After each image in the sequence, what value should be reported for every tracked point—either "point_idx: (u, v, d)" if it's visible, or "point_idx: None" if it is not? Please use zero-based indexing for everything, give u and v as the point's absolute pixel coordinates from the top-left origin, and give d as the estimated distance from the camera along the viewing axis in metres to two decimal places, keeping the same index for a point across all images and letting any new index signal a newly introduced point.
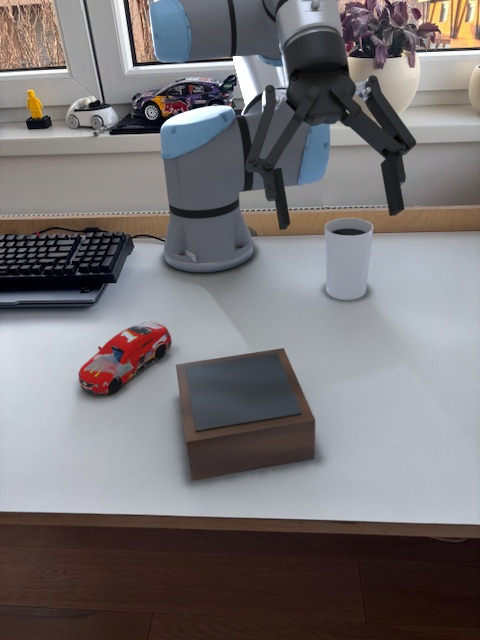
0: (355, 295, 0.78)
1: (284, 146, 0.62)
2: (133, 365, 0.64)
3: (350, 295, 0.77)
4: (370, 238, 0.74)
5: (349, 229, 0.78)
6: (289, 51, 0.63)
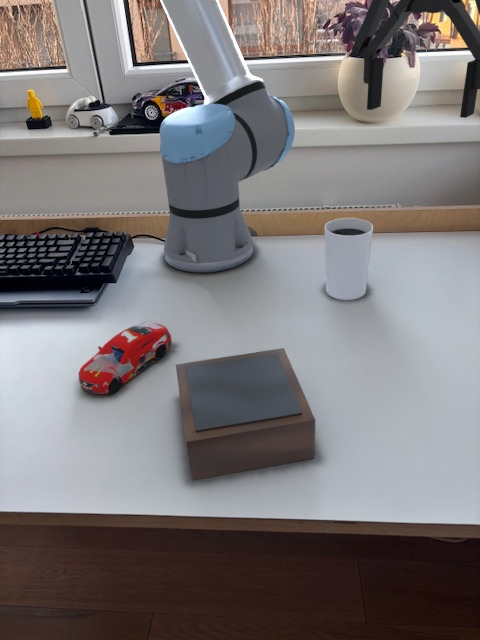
0: (355, 295, 0.78)
1: None
2: (134, 365, 0.64)
3: (350, 295, 0.77)
4: (370, 238, 0.74)
5: (349, 229, 0.78)
6: None
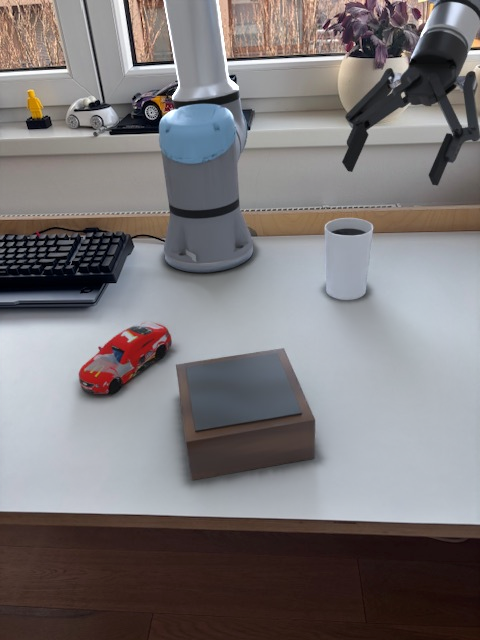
0: (355, 295, 0.78)
1: (450, 127, 0.78)
2: (134, 365, 0.64)
3: (350, 295, 0.77)
4: (370, 238, 0.74)
5: (349, 229, 0.78)
6: (464, 62, 0.80)
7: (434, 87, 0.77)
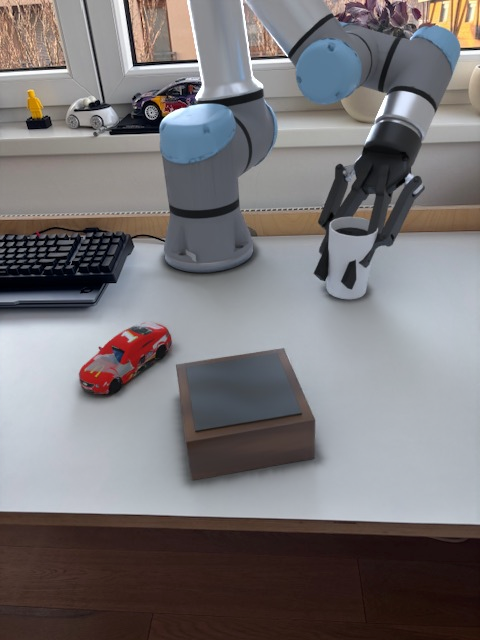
0: (355, 295, 0.77)
1: None
2: (134, 365, 0.64)
3: (350, 295, 0.77)
4: (374, 239, 0.74)
5: (353, 228, 0.77)
6: (418, 151, 0.77)
7: (386, 180, 0.75)
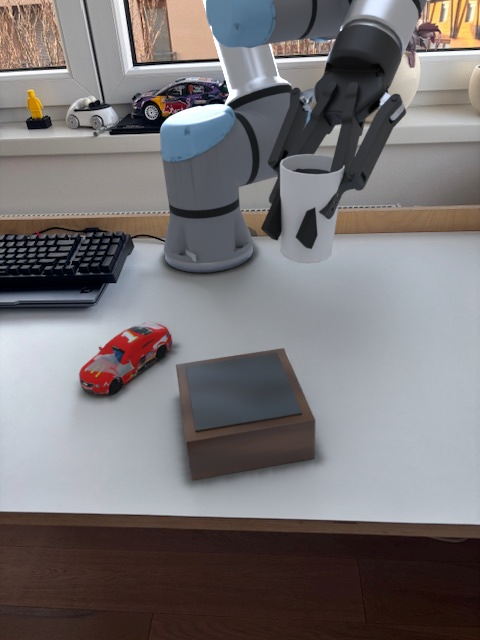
0: (317, 257, 0.59)
1: None
2: (134, 365, 0.64)
3: (311, 257, 0.59)
4: (340, 180, 0.55)
5: (313, 169, 0.59)
6: None
7: (354, 102, 0.56)
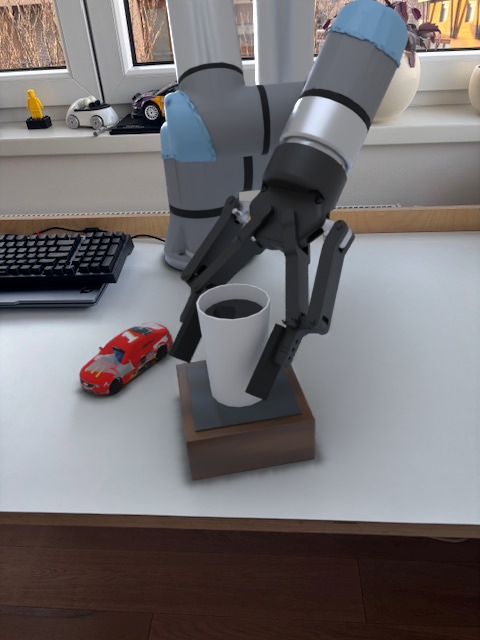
0: (248, 400, 0.51)
1: None
2: (134, 365, 0.64)
3: (240, 401, 0.51)
4: (264, 320, 0.48)
5: (240, 301, 0.52)
6: (343, 186, 0.51)
7: (289, 233, 0.49)
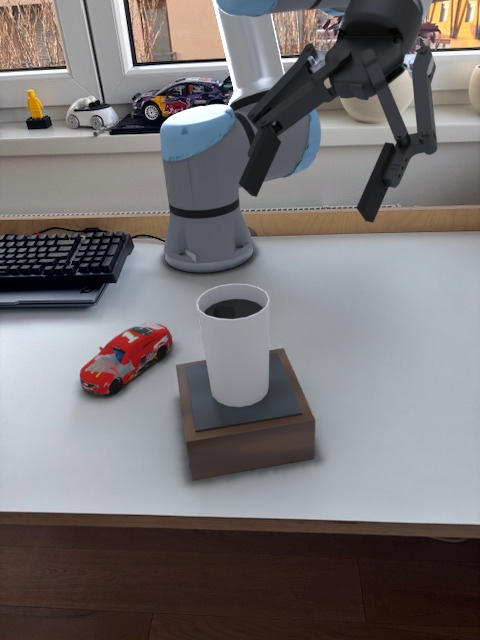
0: (248, 400, 0.51)
1: None
2: (135, 365, 0.64)
3: (240, 401, 0.51)
4: (264, 320, 0.48)
5: (239, 301, 0.52)
6: (418, 33, 0.53)
7: (370, 71, 0.51)
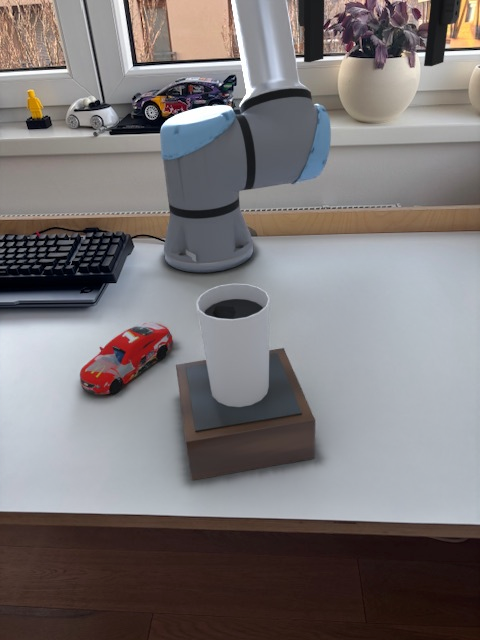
0: (248, 400, 0.51)
1: None
2: (135, 365, 0.64)
3: (240, 401, 0.51)
4: (264, 320, 0.48)
5: (239, 301, 0.52)
6: None
7: None
